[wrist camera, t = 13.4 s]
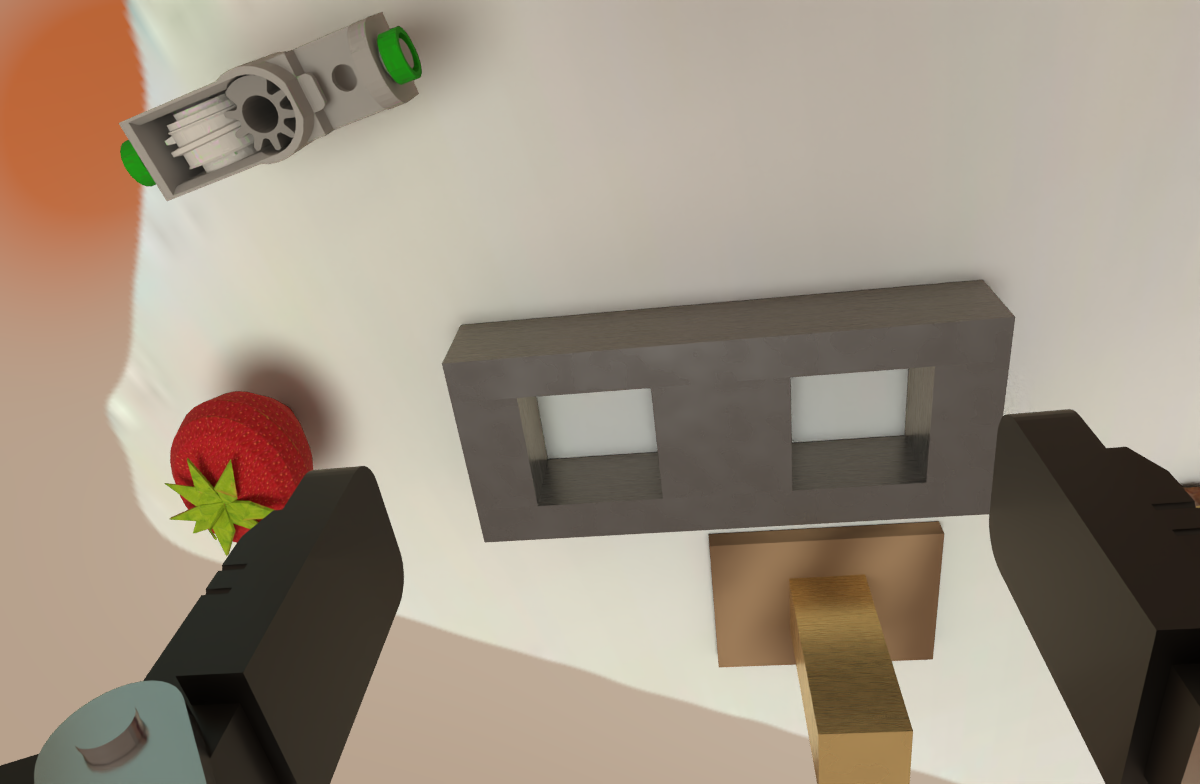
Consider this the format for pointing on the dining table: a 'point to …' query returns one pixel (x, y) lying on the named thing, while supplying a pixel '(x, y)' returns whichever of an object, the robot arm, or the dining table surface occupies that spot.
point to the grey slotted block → (735, 412)
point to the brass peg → (848, 683)
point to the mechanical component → (271, 107)
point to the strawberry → (237, 463)
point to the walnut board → (770, 558)
